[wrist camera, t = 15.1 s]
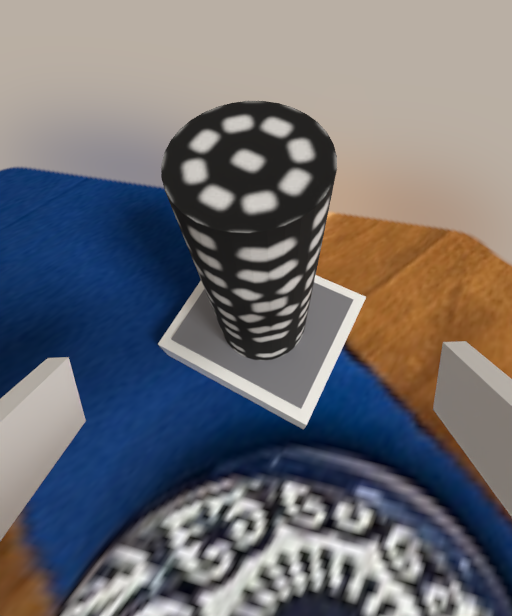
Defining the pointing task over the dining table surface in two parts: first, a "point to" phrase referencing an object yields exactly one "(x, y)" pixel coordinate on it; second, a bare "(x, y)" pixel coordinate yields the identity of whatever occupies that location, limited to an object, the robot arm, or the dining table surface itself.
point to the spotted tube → (253, 216)
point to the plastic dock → (269, 373)
